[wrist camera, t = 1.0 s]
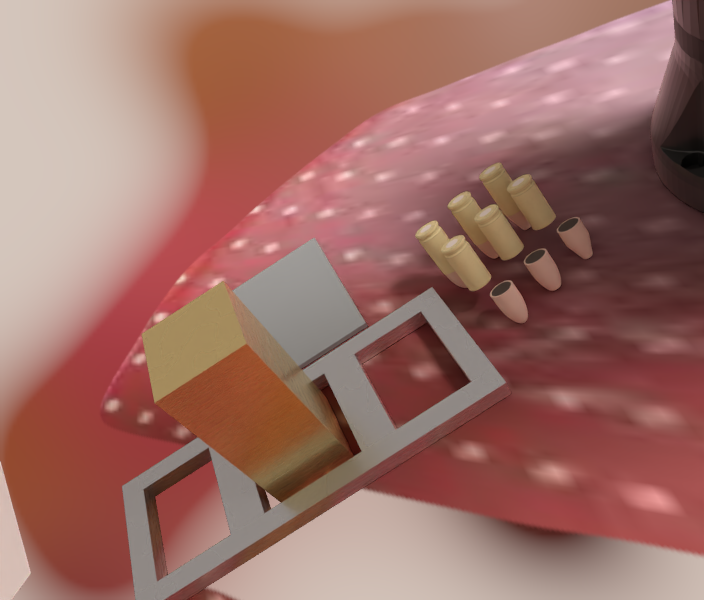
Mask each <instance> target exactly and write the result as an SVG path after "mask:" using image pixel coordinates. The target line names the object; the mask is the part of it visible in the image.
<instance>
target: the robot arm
mask: <svg viewBox="0 0 704 600" xmlns="http://www.w3.org/2000/svg"><path fill="white" fill-rule="evenodd" d="M672 4H673V13H674V29H675V43H674V46H673V49H672V52H671V55H670V59H669V62H668V65H667V68H666V72H665V75H664V78H663V81H662V85H661V88H660V91H659V94H658V97H657V101H656V104H655V107H654V110H653V114H652V119H651V128H650V135H651V144H652V153H653V161H654V165H655V169H656V171H657V174H658V175H659V177H660V179H661V181H662V182H663V184H664V185H665V186H666V187H667V188H668V189H669V190H670V191H671V192H672V193H673V194H674V195H675V196H676V197H678V198H679V199H680V200H682V201H683V202H685V203H686V204H688V205H690V206H691V207H693V208H695V209H697V210H699V211H701V212H704V0H672ZM30 574H31V571H30V568H29V564H28V560H27V557H26V553H25V550H24V546H23V542H22V538H21V535H20V531H19V528H18V524H17V520H16V517H15V513H14V510H13V506H12V502H11V498H10V495H9V491H8V487H7V484H6V480H5V476H4V473H3V469H2V465H1V462H0V600H12V599H13V597H14V596H15V595H16V593H17V592H18V590H19V589H20V588H21V586H22V585H23V584H24V582H25V581H26V580H27V578H28V577H29V576H30Z"/></svg>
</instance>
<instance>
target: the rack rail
mask: <svg viewBox="0 0 704 600" xmlns="http://www.w3.org/2000/svg"><path fill="white" fill-rule="evenodd" d="M425 323H428V324H429V326H430V327H431V328H432V330H433V331H434V333H435V334H436V335H437V337H438V338H439V340H440V341H441V342H442V344H443V345H444V347H445V348H446V349H447V351H448V352H449V354H450V355H451V356H452V358H453V359H454V361H455V362H456V363H457V365H458V366H459V368H460V369H461V370H462V372H463V373H464V374H465V376H466V377H467V379H468V380H469V381H470V383H469V384H467V385H466V386H464V387H462V388H461V389H459V390H458V391H456V392H455V393H453V394H451V395H450V396H448V397H447V398H445V399H443V400H442V401H440V402H439V403H437V404H436V405H434V406H432V407H431V408H429V409H428V410H426V411H425V412H423V413H421V414H420V415H418V416H417V417H415V418H414V419H412V420H410V421H409V422H407V423H406V424H404V425H403V426H401V427H399V428H398V429H397V427H396V426H395V424H394V422H393V420H392V418H391V417H390V415H389V413H388V411H387V409H386V407H385V406H384V404H383V402H382V400H381V398H380V397H379V395H378V393H377V391H376V389H375V388H374V386H373V384H372V382H371V380H370V379H369V377H368V375H367V373H366V371H365V369H364V368H363V366H362V364H363V363H364V362H366V361H367V360H369V359H371V358H372V357H374V356H375V355H377V354H378V353H380V352H381V351H383V350H385V349H386V348H388V347H389V346H391V345H392V344H394V343H396V342H397V341H399V340H400V339H402V338H403V337H405V336H406V335H408V334H410V333H411V332H413V331H414V330H416V329H417V328H419V327H420V326H422V325H424V324H425ZM303 372H304V373H305V374H306V375H307V376H308V377H309V378H310V379H311V381H312V382H313V383H314V384H315V385H316V386H317V387H318V389H319V390H320V391H321V390H322V389H324V388H325V387H327V386H328V385H330V387H331V389H332V391H333V393H334V395H335V397H336V399H337V401H338V403H339V405H340V407H341V410H342V412H343V414H344V416H345V418H346V420H347V422H348V424H349V426H350V428H351V430H352V432H353V435H354V437H355V439H356V441H357V443H358V445H359V447H360V449H361V451H362V452H360V453H359V454H357V455H355V456H354V457H352V458H351V459H349V460H348V461H346V462H344V463H343V464H341V465H340V466H338V467H337V468H335V469H333V470H332V471H330V472H329V473H327V474H326V475H324V476H322V477H321V478H319V479H318V480H316V481H315V482H313V483H311V484H310V485H308V486H307V487H305V488H304V489H302V490H300V491H299V492H297V493H296V494H294V495H293V496H291V497H289V498H288V499H286V500H285V501H283V502H282V503H280V504H278V505H277V506H275V507H274V508H272V509H271V507H270V504H269V501H268V498H267V495H266V492H265V490H264V489H263V488H262V487H261V486H259V485H258V484H257V483H256V482H254V481H253V480H252V479H250V478H249V477H248V476H247V475H245V474H244V473H243V472H242V471H240V470H239V469H238V468H236V467H235V466H234V465H233V464H231V463H230V462H229V461H228V460H226V459H225V458H224V457H223V456H221V455H220V454H219V453H217V452H216V451H215V450H214V449H212V448H211V447H210V446H209V445H207V444H206V443H205V442H203V441H202V440H201V439H200V438H196V439H195V440H193V441H191V442H190V443H188V444H187V445H185V446H184V447H182V448H181V449H179V450H178V451H176V452H174V453H173V454H171V455H170V456H168V457H167V458H165V459H163V460H162V461H160V462H159V463H157V464H156V465H154V466H153V467H151V468H150V469H148V470H146V471H145V472H143V473H142V474H140V475H139V476H137V477H135V478H134V479H132V480H131V481H129V482H128V483H126V484H125V485H123V486H122V490H123V498H124V507H125V515H126V524H127V532H128V541H129V549H130V558H131V566H132V574H133V583H134V592H135V600H187V599H188V598H190V597H192V596H193V595H195V594H196V593H198V592H200V591H201V590H203V589H204V588H206V587H207V586H209V585H211V584H212V583H214V582H215V581H217V580H218V579H220V578H222V577H223V576H225V575H226V574H228V573H229V572H231V571H233V570H234V569H235V568H237V567H239V566H240V565H242V564H244V563H245V562H247V561H248V560H250V559H251V558H253V557H255V556H256V555H258V554H259V553H261V552H263V551H264V550H266V549H267V548H269V547H270V546H272V545H274V544H275V543H277V542H278V541H280V540H281V539H283V538H285V537H286V536H287V535H289V534H291V533H293V532H294V531H296V530H297V529H299V528H300V527H302V526H304V525H305V524H307V523H308V522H310V521H311V520H313V519H315V518H316V517H318V516H319V515H321V514H323V513H324V512H326V511H327V510H329V509H330V508H332V507H333V506H335V505H337V504H338V503H340V502H341V501H343V500H345V499H346V498H348V497H349V496H351V495H353V494H354V493H355V492H357V491H359V490H360V489H362V488H364V487H365V486H367V485H368V484H370V483H371V482H373V481H375V480H376V479H378V478H379V477H381V476H382V475H384V474H386V473H387V472H389V471H390V470H392V469H394V468H395V467H397V466H398V465H400V464H401V463H403V462H405V461H406V460H408V459H409V458H411V457H412V456H414V455H416V454H417V453H419V452H420V451H422V450H423V449H425V448H427V447H428V446H430V445H431V444H433V443H435V442H436V441H438V440H439V439H441V438H442V437H444V436H446V435H447V434H449V433H450V432H452V431H453V430H455V429H457V428H458V427H460V426H461V425H463V424H464V423H466V422H468V421H469V420H471V419H472V418H474V417H476V416H477V415H479V414H480V413H482V412H483V411H485V410H487V409H488V408H490V407H491V406H493V405H494V404H496V403H498V402H499V401H501V400H502V399H504V398H505V397H507V396H509V395H510V394H512V393H511V391H510V389H509V387H508V385H507V383H506V382H505V380H504V379H503V378H502V376H501V375H500V374H499V373H498V371H497V370H496V369H495V367H494V366H493V365H492V364H491V362H490V361H489V360H488V358H487V357H486V356H485V355H484V353H483V352H482V351H481V349H480V348H479V347H478V345H477V344H476V343H475V342H474V340H473V339H472V338H471V336H470V335H469V334H468V333H467V331H466V330H465V329H464V327H463V326H462V325H461V324H460V322H459V321H458V320H457V318H456V317H455V316H454V315H453V313H452V312H451V311H450V309H449V308H448V307H447V306H446V304H445V303H444V302H443V300H442V299H441V298H440V296H439V295H438V294H437V293H436V291H435V290H434V289H433V287H431V288H430V289H428V290H427V291H425V292H423V293H422V294H420V295H419V296H417V297H416V298H414V299H413V300H411V301H409V302H408V303H406V304H405V305H403V306H402V307H400V308H399V309H397V310H395V311H394V312H392V313H391V314H389V315H388V316H386V317H384V318H383V319H381V320H380V321H378V322H377V323H375V324H374V325H372V326H370V327H369V328H367V329H366V330H364V331H363V332H361V333H360V334H358V335H356V336H355V337H353V338H352V339H350V340H349V341H347V342H346V343H344V344H342V345H341V346H339V347H338V348H336V349H335V350H333V351H332V352H330V353H328V354H327V355H325V356H324V357H322V358H321V359H319V360H318V361H316V362H314V363H313V364H311V365H310V366H308V367H307V368H305V369H304V370H303ZM211 460H212V462H213V466H214V470H215V474H216V478H217V481H218V486H219V490H220V494H221V498H222V502H223V506H224V509H225V513H226V517H227V521H228V525H229V529H230V533H231V535H230V536H228V537H227V538H225V539H223V540H222V541H220V542H219V543H217V544H216V545H214V546H212V547H211V548H209V549H208V550H206V551H205V552H203V553H202V554H200V555H198V556H197V557H195V558H194V559H192V560H190V561H189V562H187V563H186V564H184V565H183V566H181V567H179V568H178V569H176V570H175V571H173V572H172V573H170V574H169V575H168V574H167V568H166V561H165V555H164V549H163V543H162V536H161V530H160V524H159V518H158V512H157V506H156V500H155V496H157V495H158V494H160V493H161V492H163V491H165V490H166V489H167V488H169V487H171V486H172V485H174V484H175V483H177V482H178V481H180V480H181V479H183V478H185V477H186V476H188V475H189V474H191V473H193V472H194V471H196V470H197V469H199V468H200V467H202V466H203V465H205V464H207V463H208V462H210V461H211Z"/></svg>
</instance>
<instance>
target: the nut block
mask: <svg viewBox="0 0 704 600" xmlns="http://www.w3.org/2000/svg"><path fill="white" fill-rule="evenodd" d="M142 338H143V344H144V349H145V354H146V360H147V365H148V370H149V376H150V381H151V387H152V392H153V397H154V403H155V404H156V405H158V406H159V407H160V408H162V409H163V410H164V411H165V412H167V413H168V414H169V415H170V416H172V417H173V418H174V419H176V420H177V421H178V422H179V423H181V424H182V425H183V426H184V427H186V428H187V429H188V430H190V431H191V432H192V433H193V434H195V435H196V436H197V437H198V438H200V439H201V440H202V441H203V442H205V443H206V444H207V445H209V446H210V447H211V448H212V449H214V450H215V451H216V452H217V453H219V454H220V455H221V456H223V457H224V458H225V459H226V460H228V461H229V462H230V463H231V464H233V465H234V466H235V467H236V468H238V469H239V470H240V471H242V472H243V473H244V474H245V475H247V476H248V477H249V478H250V479H252V480H253V481H254V482H256V483H257V484H258V485H259V486H261V487H262V488H263V489H264V490H266V491H267V492H268V493H270V494H271V495H272V496H273V497H275V498H276V499H277V500H278V501H280V502H281V503H282V502H283V501H285V500H286V499H288V498H289V497H291V496H293V495H294V494H296V493H297V492H299V491H300V490H302V489H304V488H305V487H307V486H308V485H310V484H311V483H313V482H315V481H316V480H318V479H319V478H321V477H322V476H324V475H326V474H327V473H329V472H330V471H332V470H333V469H335V468H337V467H338V466H340V465H341V464H343V463H344V462H346V461H348V460H349V459H351V458H352V457H354V456H353V453H352V451H351V449H350V447H349V445H348V443H347V440H346V438H345V436H344V434H343V432H342V430H341V428H340V425H339V423H338V421H337V419H336V417H335V415H334V413H333V410H332V408H331V406H330V404H329V402H328V400H327V398H326V396H325V395H324V394H323V393H322V392H321V391H320V390H319V389H318V387H317V386H316V385H315V384H314V383H313V382H312V381H311V379H310V378H309V377H308V376H307V375H306V374H305V373H304V372H303V370H302V369H301V368H300V367H299V366H298V365H297V364H296V362H295V361H294V360H293V359H292V358H291V357H290V356H289V355H288V353H287V352H286V351H285V350H284V349H283V348H282V347H281V345H280V344H279V343H278V342H277V341H276V340H275V339H274V338H273V336H272V335H271V334H270V333H269V332H268V331H267V330H266V328H265V327H264V326H263V325H262V324H261V323H260V322H259V321H258V319H257V318H256V317H255V316H254V315H253V314H252V313H251V312H250V310H249V309H248V308H247V307H246V306H245V305H244V304H243V302H242V301H241V300H240V299H239V298H238V297H237V296H236V295H235V293H234V292H233V291H232V290H231V289H230V288H229V287H228V285H227V284H226V283H225V282H224V281H222V282H221V283H219V284H218V285H216V286H215V287H213V288H212V289H210V290H208V291H207V292H205V293H204V294H202V295H201V296H199V297H198V298H196V299H195V300H193V301H192V302H190V303H188V304H187V305H185V306H184V307H182V308H181V309H179V310H178V311H176V312H175V313H173V314H172V315H170V316H168V317H167V318H165V319H164V320H162V321H161V322H159V323H158V324H156V325H155V326H153V327H152V328H150V329H148V330H147V331H145V332H144V333H142Z"/></svg>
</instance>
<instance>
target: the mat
mask: <svg viewBox="0 0 704 600" xmlns="http://www.w3.org/2000/svg"><path fill="white" fill-rule="evenodd" d="M233 292H234V293H235V295H236V296H237V297H238V298H239V299H240V300H241V301H242V302H243V304H244V305H245V306H246V307H247V308H248V309H249V310H250V312H251V313H252V314H253V315H254V316H255V317H256V318H257V319H258V321H259V322H260V323H261V324H262V325H263V326H264V327H265V328H266V330H267V331H268V332H269V333H270V334H271V335H272V336H273V338H274V339H275V340H276V341H277V342H278V343H279V344H280V345H281V347H282V348H283V349H284V350H285V351H286V352H287V353H288V355H289V356H290V357H291V358H292V359H293V360H294V361H295V362H296V364H297V365H298V366H299V367H300V368H301V369H302V368H304V367H305V366H307V365H309V364H310V363H312V362H313V361H315V360H316V359H318V358H319V357H321V356H323V355H324V354H326V353H327V352H329V351H330V350H332V349H333V348H335V347H337V346H338V345H340V344H341V343H343V342H344V341H346V340H347V339H349V338H351V337H352V336H354V335H355V334H357V333H358V332H360V331H361V330H363V329H365V328H366V327H368V326H367V324H366V322H365V321H364V319H363V317H362V316H361V314H360V312H359V311H358V309H357V307H356V306H355V304H354V302H353V301H352V299H351V297H350V296H349V294H348V292H347V291H346V289H345V287H344V286H343V284H342V282H341V281H340V279H339V277H338V276H337V274H336V272H335V271H334V269H333V267H332V266H331V264H330V262H329V261H328V259H327V257H326V256H325V254H324V252H323V251H322V249H321V248H320V246H319V244H318V243H317V241H316V239H315V238H313V239H311V240H310V241H308V242H307V243H305V244H304V245H302V246H300V247H299V248H297V249H296V250H294V251H293V252H291V253H290V254H288V255H287V256H285V257H283V258H282V259H280V260H279V261H277V262H276V263H274V264H273V265H271V266H270V267H268V268H267V269H265V270H263V271H262V272H260V273H259V274H257V275H256V276H254V277H253V278H251V279H250V280H248V281H247V282H245V283H243V284H242V285H240V286H239V287H237V288H236V289H234V290H233Z"/></svg>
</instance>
